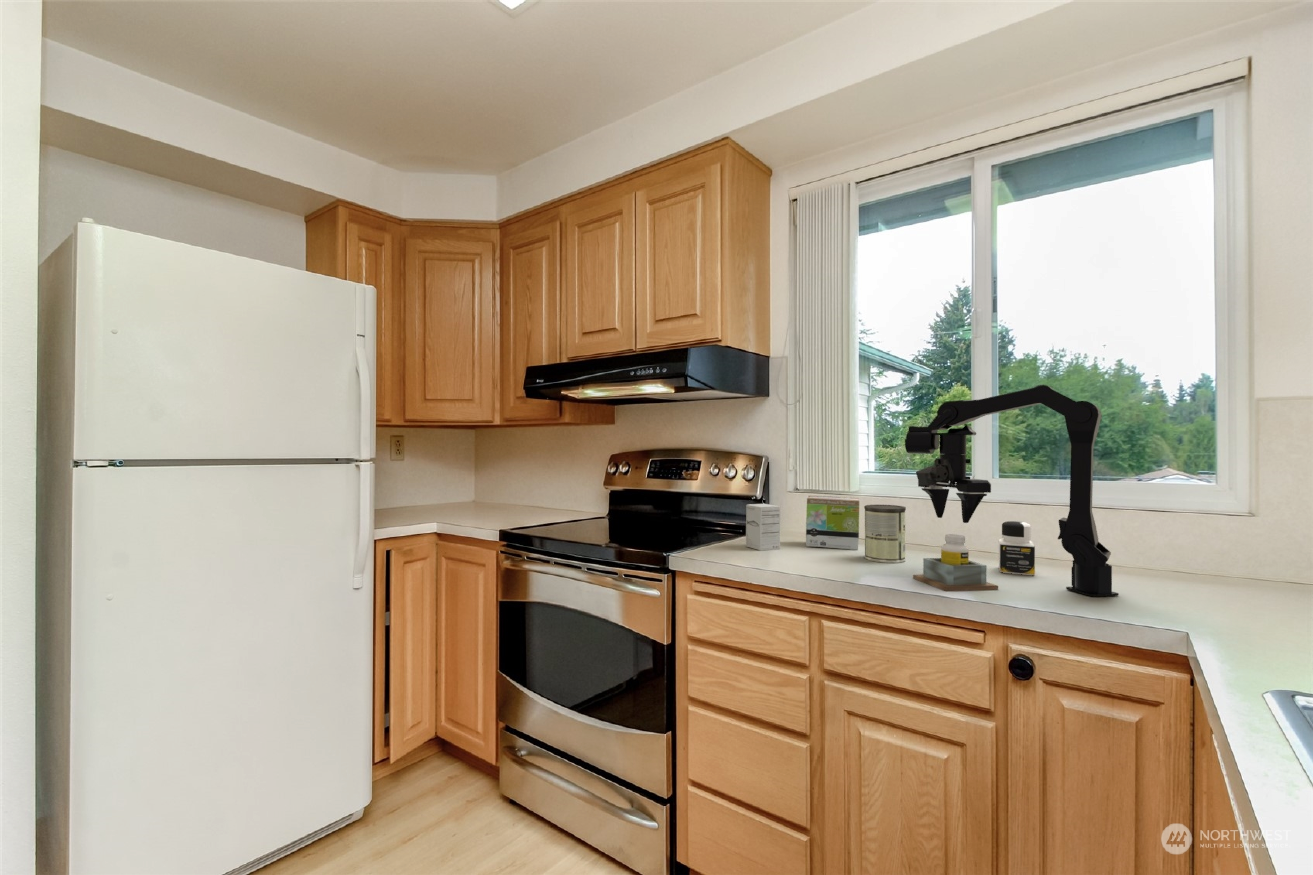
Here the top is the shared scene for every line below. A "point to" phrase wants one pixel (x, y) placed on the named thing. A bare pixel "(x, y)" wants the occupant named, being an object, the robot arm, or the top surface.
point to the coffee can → (885, 533)
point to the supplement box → (763, 526)
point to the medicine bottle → (1016, 549)
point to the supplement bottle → (954, 550)
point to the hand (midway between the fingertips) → (952, 520)
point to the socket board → (954, 576)
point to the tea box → (832, 522)
